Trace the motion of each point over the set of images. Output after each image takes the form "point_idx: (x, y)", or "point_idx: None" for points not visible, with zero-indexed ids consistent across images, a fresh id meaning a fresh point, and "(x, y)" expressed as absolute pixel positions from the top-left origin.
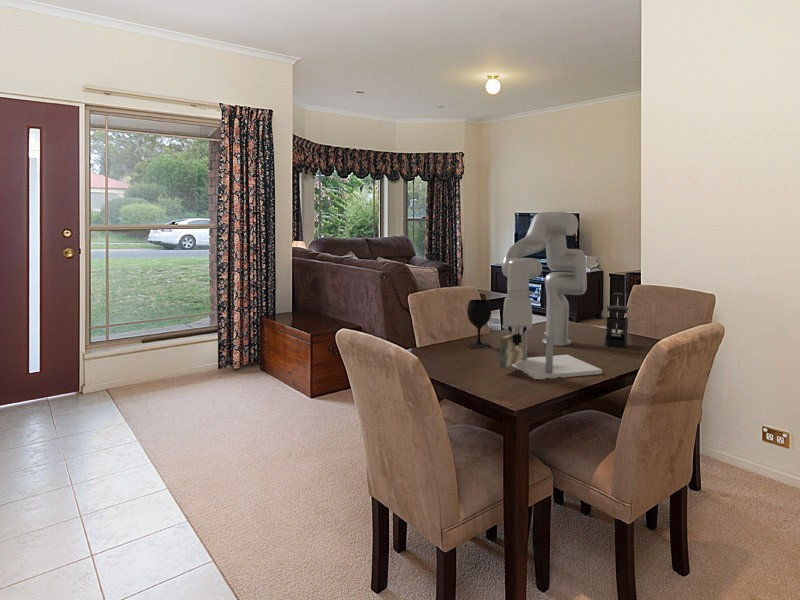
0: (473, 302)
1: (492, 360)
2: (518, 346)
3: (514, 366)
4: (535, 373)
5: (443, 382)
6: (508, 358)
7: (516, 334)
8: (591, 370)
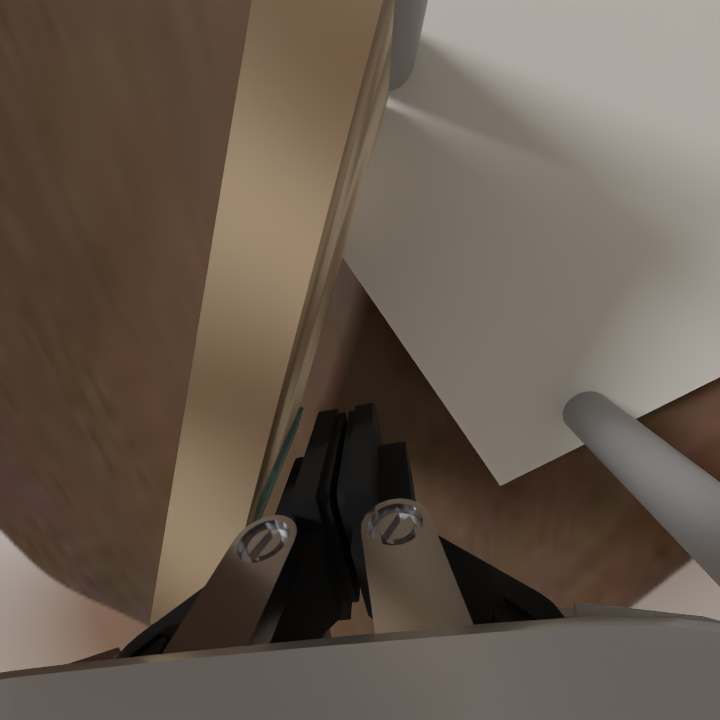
0: None
1: (113, 53)
2: (344, 199)
3: None
4: (498, 447)
5: (89, 598)
6: (299, 392)
7: (339, 565)
8: None
